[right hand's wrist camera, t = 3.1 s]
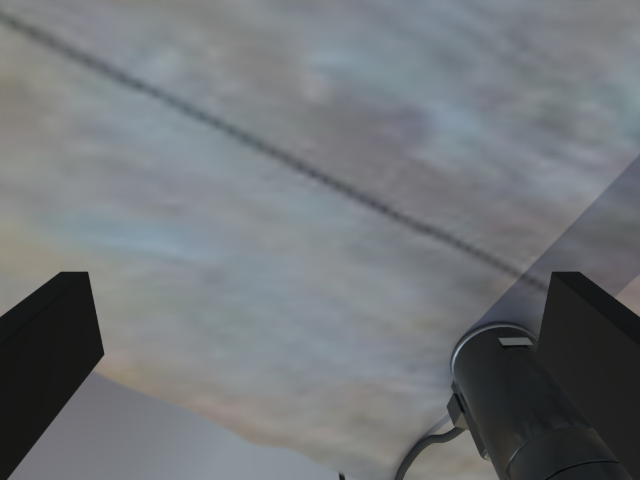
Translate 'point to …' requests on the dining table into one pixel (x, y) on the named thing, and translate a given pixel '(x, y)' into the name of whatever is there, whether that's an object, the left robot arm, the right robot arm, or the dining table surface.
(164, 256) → the dining table surface
